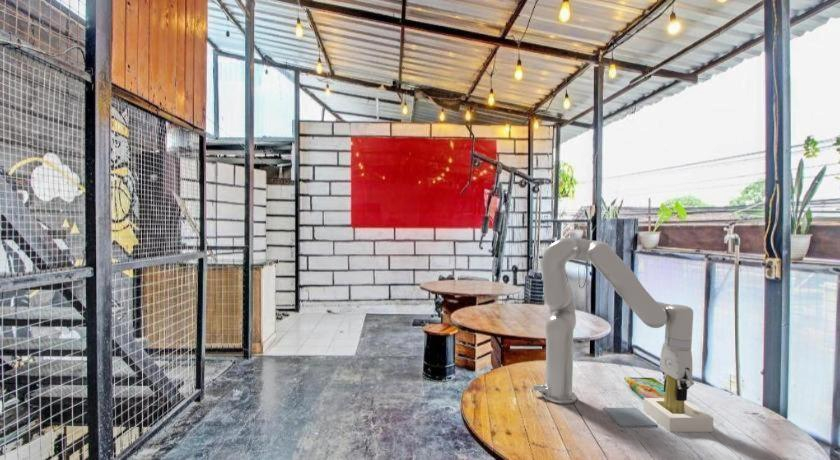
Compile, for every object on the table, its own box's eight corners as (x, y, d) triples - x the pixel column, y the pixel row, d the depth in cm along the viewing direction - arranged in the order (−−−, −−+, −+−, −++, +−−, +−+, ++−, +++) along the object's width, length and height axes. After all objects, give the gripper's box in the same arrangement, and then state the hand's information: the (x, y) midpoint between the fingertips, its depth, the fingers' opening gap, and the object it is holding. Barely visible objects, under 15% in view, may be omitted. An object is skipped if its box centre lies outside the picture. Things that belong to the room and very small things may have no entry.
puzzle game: (650, 396, 141) (624, 374, 161) (649, 409, 141) (623, 386, 161) (684, 397, 140) (653, 375, 160) (683, 410, 140) (653, 387, 160)
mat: (621, 426, 128) (621, 425, 128) (602, 409, 140) (602, 407, 140) (657, 426, 128) (657, 425, 128) (636, 409, 140) (636, 407, 140)
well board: (669, 431, 125) (670, 417, 125) (643, 410, 139) (643, 397, 139) (712, 431, 126) (713, 417, 126) (682, 410, 140) (682, 398, 140)
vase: (681, 409, 135) (684, 367, 134) (687, 417, 129) (689, 374, 129) (661, 406, 137) (663, 365, 136) (665, 414, 131) (668, 371, 130)
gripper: (651, 334, 141) (648, 385, 141) (684, 350, 123) (681, 408, 124) (671, 335, 141) (668, 385, 141) (708, 351, 124) (704, 408, 124)
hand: (674, 395), depth 133 cm, fingers closed on vase, 5 cm apart
